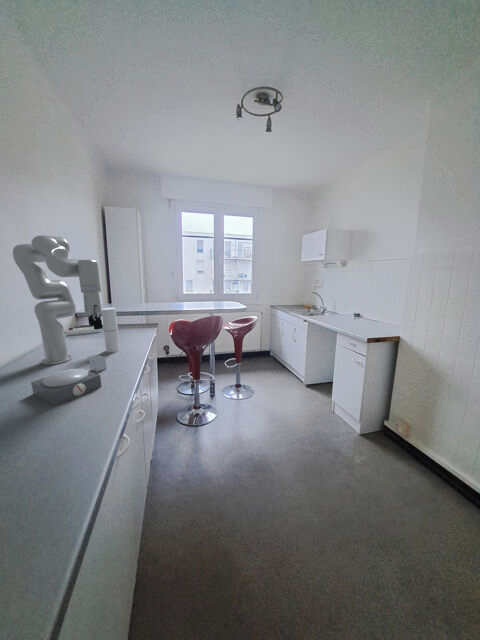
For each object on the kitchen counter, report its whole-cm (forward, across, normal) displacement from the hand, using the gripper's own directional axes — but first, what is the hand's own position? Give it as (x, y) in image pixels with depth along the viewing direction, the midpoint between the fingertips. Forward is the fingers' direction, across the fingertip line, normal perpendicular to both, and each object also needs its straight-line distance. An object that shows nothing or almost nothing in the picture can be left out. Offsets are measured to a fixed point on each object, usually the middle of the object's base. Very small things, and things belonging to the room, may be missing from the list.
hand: (95, 327), depth 112 cm
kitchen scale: (+22, +10, -14) cm, 28 cm away
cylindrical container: (+22, -31, +13) cm, 40 cm away
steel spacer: (+22, -5, 0) cm, 22 cm away
